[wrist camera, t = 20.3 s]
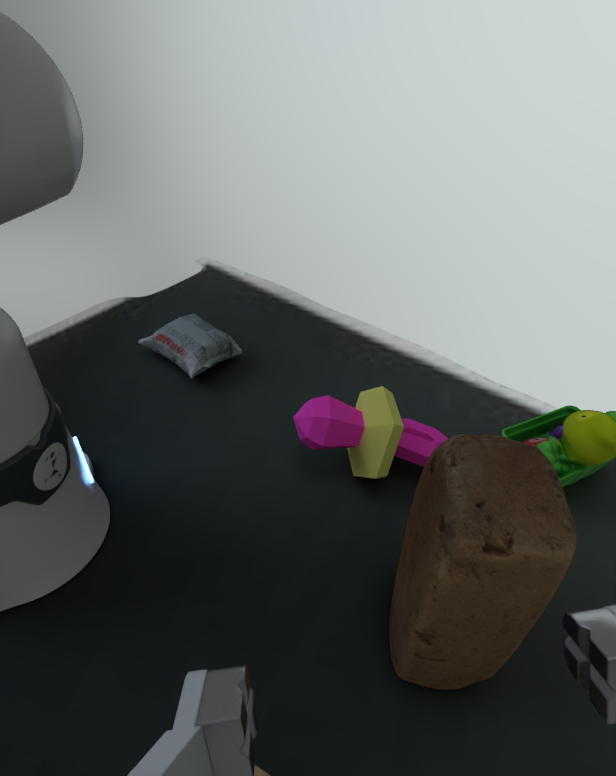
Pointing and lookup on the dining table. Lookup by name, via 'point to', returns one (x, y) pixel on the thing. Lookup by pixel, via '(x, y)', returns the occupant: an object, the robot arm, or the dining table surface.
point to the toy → (366, 431)
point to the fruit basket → (570, 440)
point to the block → (477, 559)
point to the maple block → (259, 772)
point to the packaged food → (192, 344)
